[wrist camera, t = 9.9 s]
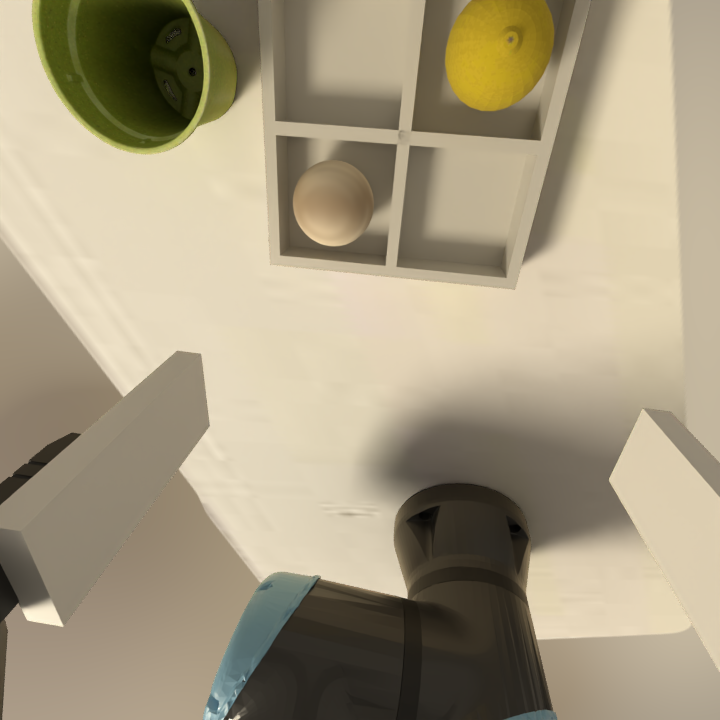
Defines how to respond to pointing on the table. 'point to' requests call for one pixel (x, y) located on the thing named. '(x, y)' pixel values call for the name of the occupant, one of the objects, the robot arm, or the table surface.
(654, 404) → the table surface
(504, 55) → the lemon
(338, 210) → the beige rounded ball
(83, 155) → the table surface
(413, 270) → the tray
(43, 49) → the plant pot
